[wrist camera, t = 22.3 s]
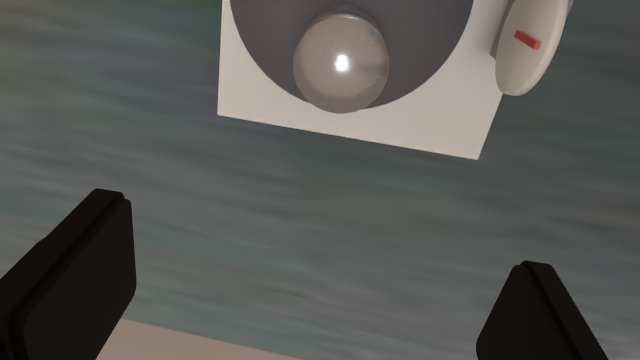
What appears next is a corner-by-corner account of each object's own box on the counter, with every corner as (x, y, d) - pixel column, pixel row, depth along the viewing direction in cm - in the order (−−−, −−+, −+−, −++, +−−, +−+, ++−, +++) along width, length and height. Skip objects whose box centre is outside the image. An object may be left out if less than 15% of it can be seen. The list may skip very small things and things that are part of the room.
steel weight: (392, 12, 31) (399, 27, 26) (373, 94, 34) (377, 120, 29) (307, -3, 30) (299, 9, 26) (296, 80, 33) (287, 105, 29)
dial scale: (579, -159, 28) (720, -216, 18) (469, 144, 39) (514, 225, 28) (244, -223, 28) (174, -322, 17) (226, 102, 39) (177, 168, 28)
